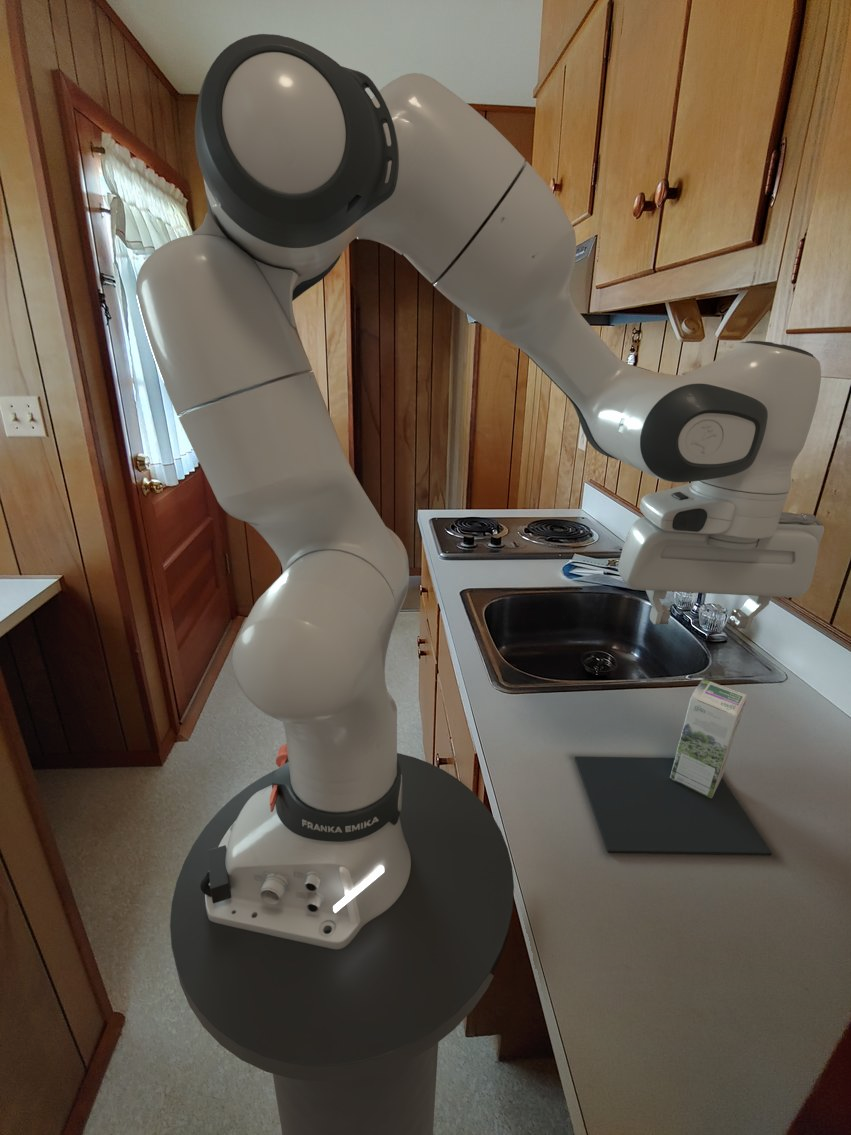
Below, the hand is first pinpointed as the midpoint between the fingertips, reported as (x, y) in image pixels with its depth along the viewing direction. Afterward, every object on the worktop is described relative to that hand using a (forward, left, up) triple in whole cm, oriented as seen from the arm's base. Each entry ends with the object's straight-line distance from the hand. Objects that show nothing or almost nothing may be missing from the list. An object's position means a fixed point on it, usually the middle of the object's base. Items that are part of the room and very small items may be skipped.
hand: (698, 624), depth 63 cm
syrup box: (+7, +4, -27) cm, 28 cm away
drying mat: (+1, 0, -27) cm, 27 cm away
